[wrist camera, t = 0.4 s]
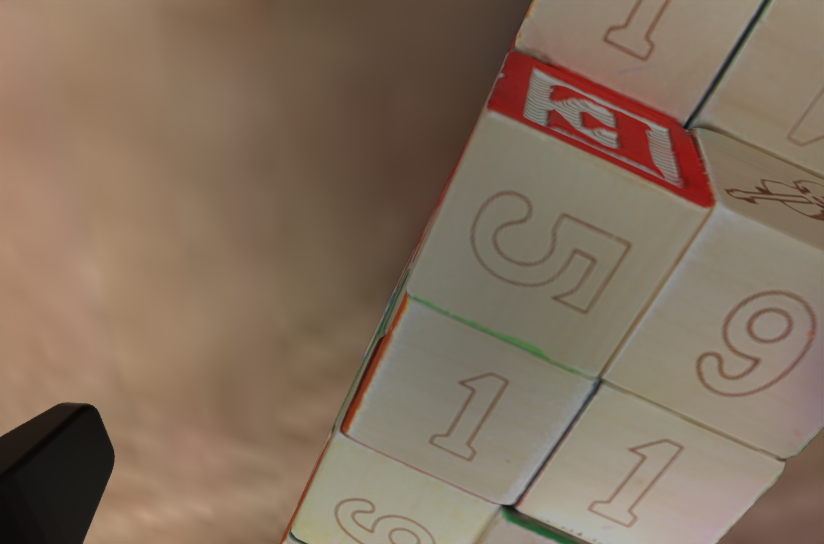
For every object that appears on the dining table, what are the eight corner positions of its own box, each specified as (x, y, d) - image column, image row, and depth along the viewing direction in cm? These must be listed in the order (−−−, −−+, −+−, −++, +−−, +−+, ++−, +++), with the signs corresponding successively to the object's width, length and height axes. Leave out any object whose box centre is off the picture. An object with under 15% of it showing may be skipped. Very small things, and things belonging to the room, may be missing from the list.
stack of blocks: (756, -495, 14) (1186, -1422, 4) (1043, -358, 15) (2208, -909, 4) (382, 314, 26) (236, 631, 15) (545, 389, 26) (512, 757, 15)
